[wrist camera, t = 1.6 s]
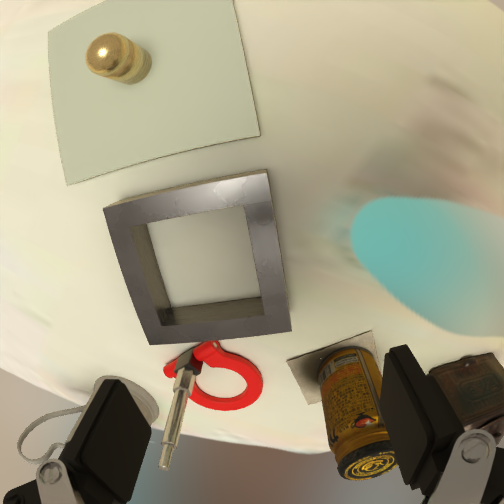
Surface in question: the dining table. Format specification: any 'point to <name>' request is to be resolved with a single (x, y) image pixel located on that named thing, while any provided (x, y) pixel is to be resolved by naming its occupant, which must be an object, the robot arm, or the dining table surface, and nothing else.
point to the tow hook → (186, 387)
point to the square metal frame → (214, 314)
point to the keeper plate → (149, 85)
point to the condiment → (349, 404)
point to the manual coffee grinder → (475, 392)
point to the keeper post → (118, 59)
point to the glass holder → (137, 392)
